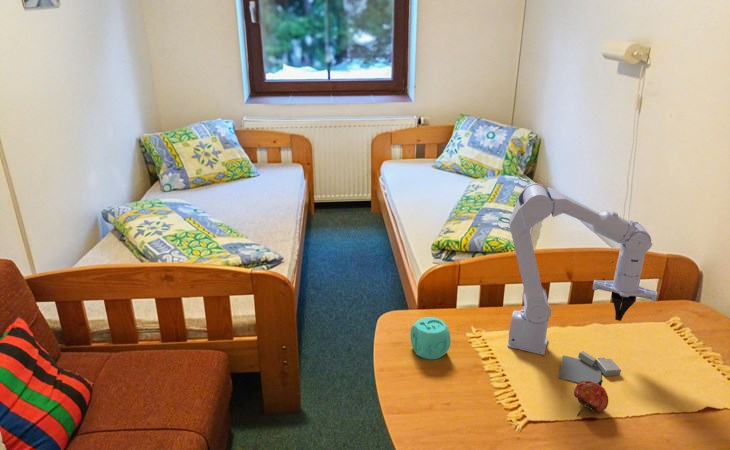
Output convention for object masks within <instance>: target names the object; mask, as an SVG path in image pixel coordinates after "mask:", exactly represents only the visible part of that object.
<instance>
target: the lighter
mask: <svg viewBox="0 0 730 450" xmlns="http://www.w3.org/2000/svg"><path fill="white" fill-rule="evenodd" d="M577 359H581V360H582V361H584V362H586V363H587V364H589V365H590V366H593V365H596V366H597V367H598V368H599V369H600V371H601V374H602V375H604V376H605V377H612V376H615V377H616V376H620V375H621V373H622V369H621V368H620V366H618V365H617V363H616V362H615V361H614V360H613V359H612V358H605V357H598V358H595V357H593V355H590V354H589V353H587V352H586V351H584V350H583V351H580V352H578V356H577Z"/></svg>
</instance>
